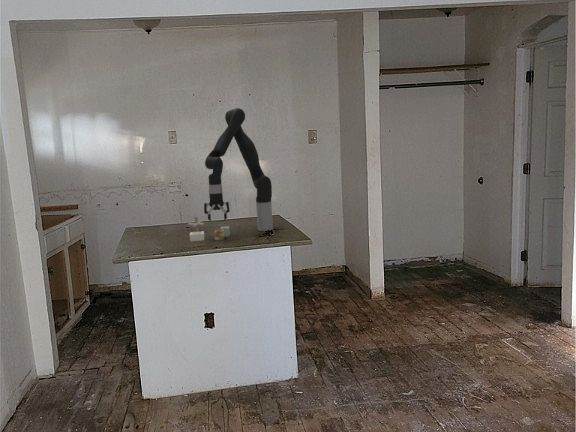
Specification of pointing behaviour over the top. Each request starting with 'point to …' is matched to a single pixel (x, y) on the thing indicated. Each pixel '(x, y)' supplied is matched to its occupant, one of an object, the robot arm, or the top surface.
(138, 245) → the top surface
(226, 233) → the sage block
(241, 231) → the top surface
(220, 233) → the oak block
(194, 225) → the pipe connector
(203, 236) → the white base
